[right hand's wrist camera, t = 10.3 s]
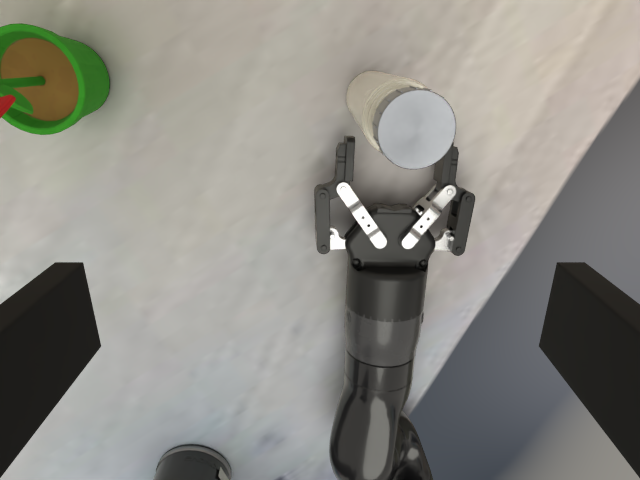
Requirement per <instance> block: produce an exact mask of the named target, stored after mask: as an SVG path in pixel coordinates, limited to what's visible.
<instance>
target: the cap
mask: <svg viewBox="0 0 640 480" xmlns="http://www.w3.org/2000/svg"><path fill="white" fill-rule="evenodd" d="M372 125H373V134H374V136H373V138H374V139H375V141H376V143H377V145H378V146H379V150H380V151H381V153H382V154H383V155H385V156H386V157H387V158H388V159H389V160H390V161H391V162H392V163H393V164H395V165H397V166H399V167H402V168H406V169H422V168H425V167H428V166H431V165H432V164H434V163H436V162H437V161H439V160H440V159H441V158H442V157H443V156H444V155H445V154H446V153H447V152H448V150H449V149H450V147H451V145H452V143H453V140H454V137H455V133H456V120H455V115H454V112H453V110H452V108H451V106H450V105H449V103H448V102H447V101H446V100H445V99H444V97H442V96H440V95H439V94H437V93H435V92H432V90H430V89H427V88H423V89H422V88H418V87H414V86H409V87H405V88H401V89H396V91H394V92H392V93H390V94H389V95H388V96H386V97H384V99H383V100H382V102H381V103H380V104H379V106H378V108H377V109H376V112H375V115H374V118H373V122H372Z"/></svg>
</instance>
